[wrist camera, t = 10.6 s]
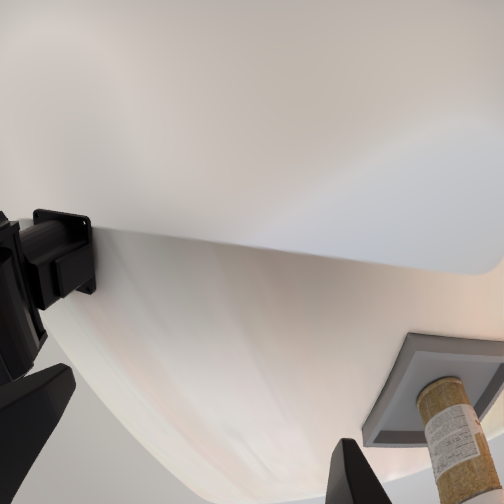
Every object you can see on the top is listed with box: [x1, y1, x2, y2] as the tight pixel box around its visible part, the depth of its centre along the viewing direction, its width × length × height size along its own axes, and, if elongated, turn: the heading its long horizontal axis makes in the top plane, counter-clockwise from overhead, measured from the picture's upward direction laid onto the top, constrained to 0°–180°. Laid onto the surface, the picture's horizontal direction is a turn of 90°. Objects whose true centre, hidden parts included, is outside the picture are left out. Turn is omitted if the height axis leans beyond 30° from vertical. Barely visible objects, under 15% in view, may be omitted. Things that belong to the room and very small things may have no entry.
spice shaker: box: [416, 377, 504, 504], centre depth 15 cm, size 5×5×14 cm
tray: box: [362, 333, 504, 448], centre depth 21 cm, size 11×11×2 cm
